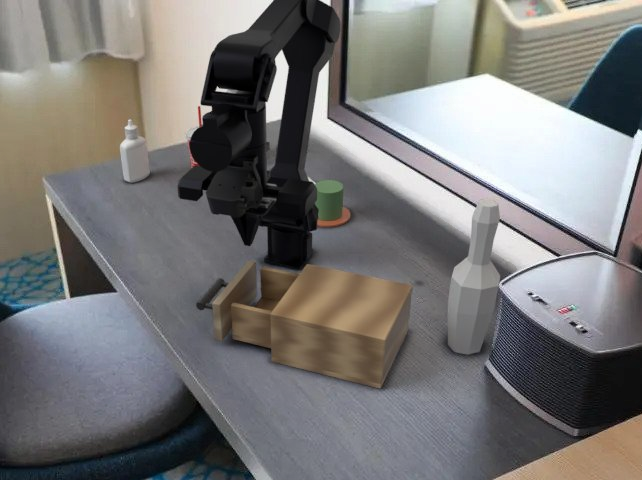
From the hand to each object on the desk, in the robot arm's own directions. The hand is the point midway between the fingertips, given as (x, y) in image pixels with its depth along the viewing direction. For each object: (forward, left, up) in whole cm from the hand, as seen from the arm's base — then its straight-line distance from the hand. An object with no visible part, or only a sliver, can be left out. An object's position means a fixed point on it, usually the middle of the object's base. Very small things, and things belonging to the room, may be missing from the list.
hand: (248, 244), depth 112 cm
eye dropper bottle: (-40, +34, -11) cm, 54 cm away
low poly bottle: (+32, +3, -11) cm, 34 cm away
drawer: (+4, -4, -10) cm, 12 cm away
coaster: (+1, +32, -11) cm, 34 cm away
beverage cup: (-28, +40, -11) cm, 50 cm away
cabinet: (+16, -4, -11) cm, 20 cm away
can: (+1, +32, -11) cm, 34 cm away
